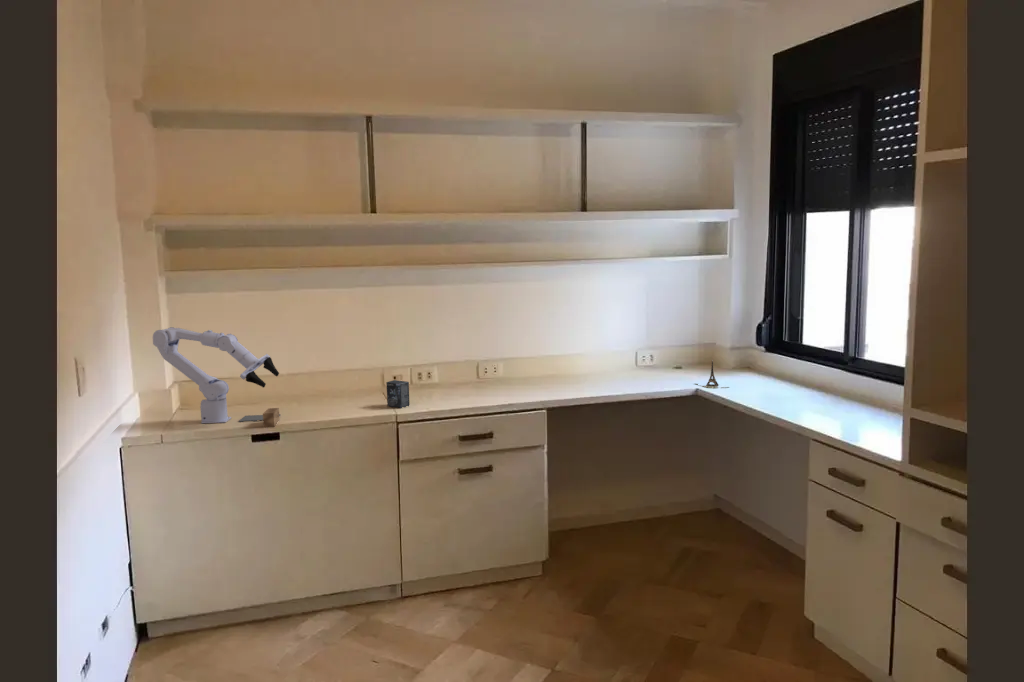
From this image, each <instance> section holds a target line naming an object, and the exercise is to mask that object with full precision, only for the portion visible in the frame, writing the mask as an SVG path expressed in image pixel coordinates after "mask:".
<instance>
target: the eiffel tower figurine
mask: <svg viewBox="0 0 1024 682" xmlns="http://www.w3.org/2000/svg"><path fill="white" fill-rule="evenodd" d="M710 369H711V370H710V371H711V372H710V376H709V379H708V382H707V383H706V385H698V384H699V383H694V385H696V386H700V387H702V388H705V389H711V390H712V389H713V390H714V389H719V385H720V384H719V383H718V382H717V379H716V378H715V377H716V376H715V374H714V360H713V359H712V360H711V368H710ZM710 383H711V384H710ZM725 388H726V389H727V388H728V386H723V387H720V389H725Z"/></svg>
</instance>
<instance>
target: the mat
mask: <svg viewBox="0 0 1024 682" xmlns="http://www.w3.org/2000/svg"><path fill="white" fill-rule="evenodd" d="M279 417H281V414H280V413H279ZM257 420H263V414H255V415H253V414H252V415H251V414H250V415H249V414H248V415H244V416H243V417H242V418H241V419H240V420H238V423H244V422H243V421H253V422H258V421H257Z"/></svg>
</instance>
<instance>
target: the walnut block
mask: <svg viewBox="0 0 1024 682" xmlns="http://www.w3.org/2000/svg"><path fill="white" fill-rule="evenodd" d="M279 414H280V408H279V407H272V408H271V407H270V408H267V409H266V410H265V411H264V412H263V413H262V415H263V421H262V422H263V428H276V426H277V425H278V424H277V422H278V421H279V420H280V417H281V416H279ZM280 421H281V420H280ZM276 424H277V425H276Z"/></svg>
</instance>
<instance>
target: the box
mask: <svg viewBox="0 0 1024 682" xmlns="http://www.w3.org/2000/svg"><path fill="white" fill-rule="evenodd" d="M409 383H410V382H409V381H405V380H396V379H394V380H390V381H387V382H386V403H387V404H386V405H387V407H388V406H390V407H391V408H396V407H398V408H397V409H403V408H402V407H404V408H407V407H406V406H408V407H410V406H409V405H411V403H410V389H409V388H410V384H409Z"/></svg>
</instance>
